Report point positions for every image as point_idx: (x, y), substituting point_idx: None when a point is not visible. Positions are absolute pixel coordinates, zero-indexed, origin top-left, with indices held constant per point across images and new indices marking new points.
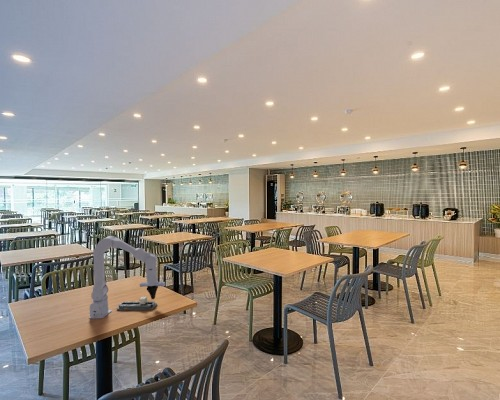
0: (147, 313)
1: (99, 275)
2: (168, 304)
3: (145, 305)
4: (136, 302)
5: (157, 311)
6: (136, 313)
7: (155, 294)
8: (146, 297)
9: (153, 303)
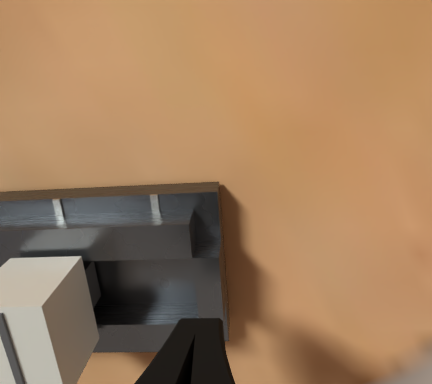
0: None
1: None
2: (377, 138)
3: (132, 350)
4: None
5: (307, 334)
6: (95, 374)
7: (227, 362)
8: (50, 320)
9: (212, 298)
